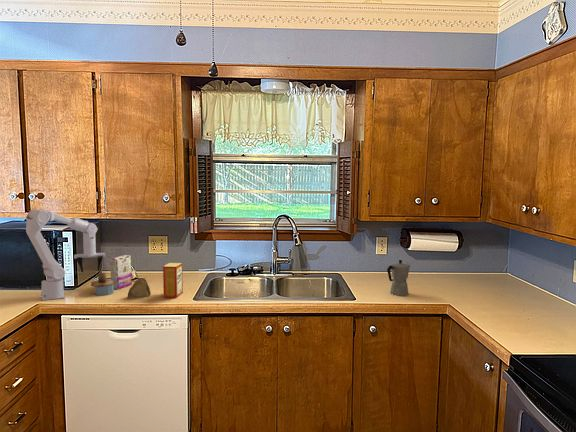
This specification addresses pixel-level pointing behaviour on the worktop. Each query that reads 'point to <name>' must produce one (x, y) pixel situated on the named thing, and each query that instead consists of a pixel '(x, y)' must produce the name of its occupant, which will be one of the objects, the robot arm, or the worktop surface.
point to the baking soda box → (172, 280)
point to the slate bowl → (104, 290)
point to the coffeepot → (399, 278)
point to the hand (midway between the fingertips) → (90, 271)
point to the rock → (139, 289)
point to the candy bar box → (121, 271)
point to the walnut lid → (102, 281)
